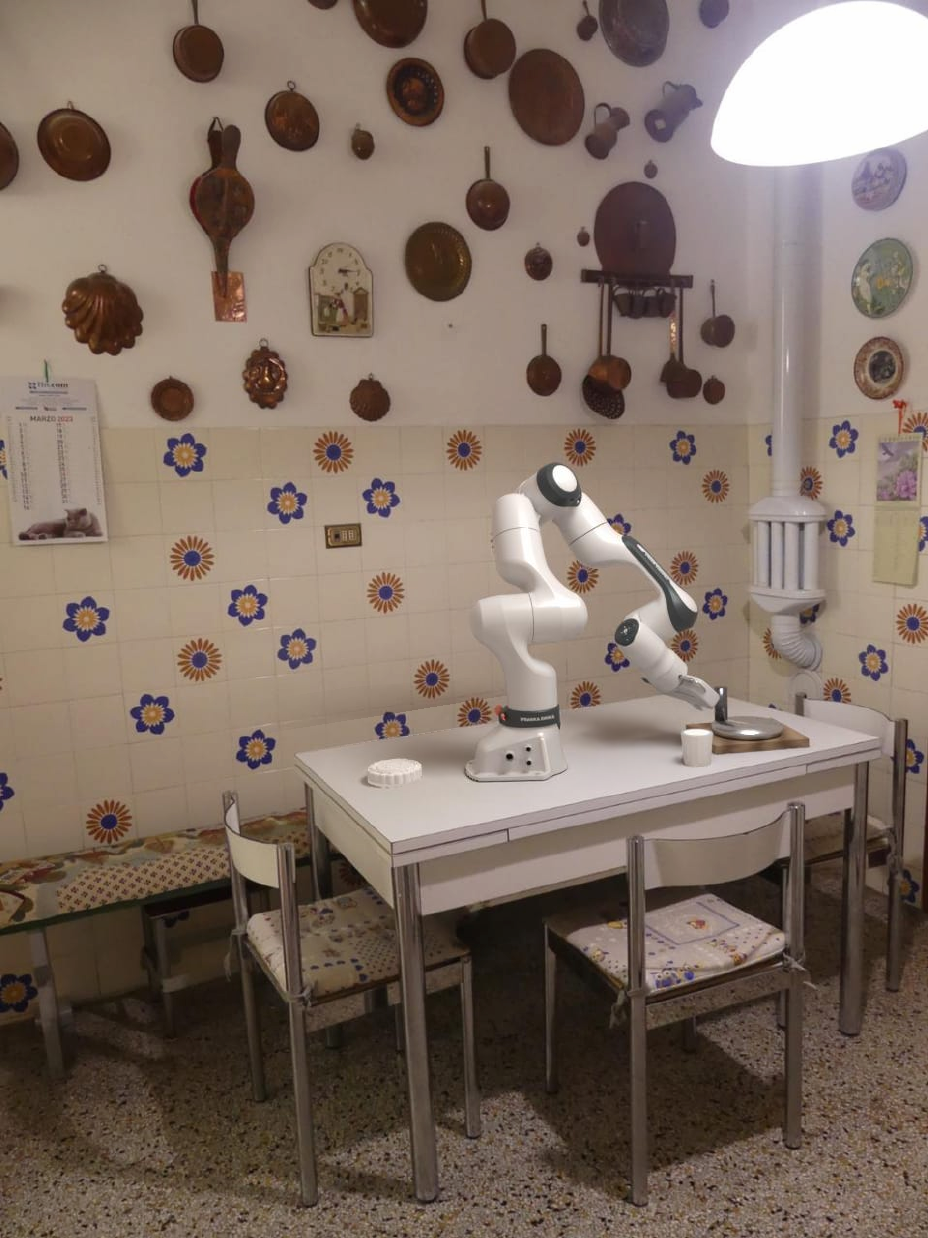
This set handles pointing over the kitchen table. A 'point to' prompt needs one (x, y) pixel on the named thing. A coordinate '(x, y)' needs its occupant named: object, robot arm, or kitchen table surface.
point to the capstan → (742, 722)
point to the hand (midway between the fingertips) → (702, 708)
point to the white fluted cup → (697, 747)
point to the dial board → (754, 741)
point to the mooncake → (394, 771)
